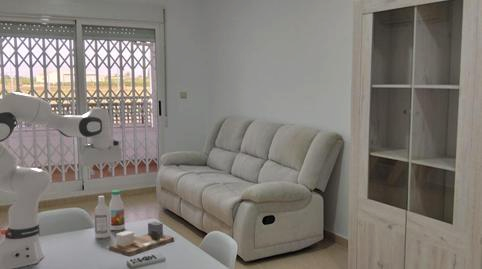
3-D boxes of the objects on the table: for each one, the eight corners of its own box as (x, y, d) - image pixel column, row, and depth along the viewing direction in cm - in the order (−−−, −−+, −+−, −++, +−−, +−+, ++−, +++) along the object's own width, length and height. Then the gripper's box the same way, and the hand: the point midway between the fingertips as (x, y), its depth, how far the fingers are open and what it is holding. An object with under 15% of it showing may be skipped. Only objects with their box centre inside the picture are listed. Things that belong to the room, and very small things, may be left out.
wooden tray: (128, 255, 198) (128, 251, 197) (109, 249, 206) (109, 245, 206) (173, 240, 218) (173, 236, 218) (154, 234, 226) (154, 231, 226)
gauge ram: (126, 247, 203) (126, 236, 202) (116, 244, 207) (116, 233, 207) (141, 243, 209) (140, 232, 208) (130, 240, 214) (130, 229, 213)
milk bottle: (106, 230, 234) (104, 192, 233) (114, 226, 242) (113, 188, 240) (119, 231, 232) (118, 192, 230) (127, 227, 240) (126, 189, 238)
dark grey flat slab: (158, 240, 212) (158, 232, 212) (151, 238, 215) (151, 230, 215) (160, 240, 213) (160, 231, 213) (153, 238, 216) (153, 229, 216)
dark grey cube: (156, 236, 218) (156, 225, 218) (148, 234, 222) (147, 223, 222) (162, 234, 222) (162, 223, 221) (154, 232, 225) (154, 221, 225)
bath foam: (101, 234, 229) (99, 194, 227) (113, 235, 227) (111, 195, 225) (92, 238, 222) (90, 197, 221) (104, 239, 220) (102, 198, 218)
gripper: (84, 145, 200) (85, 177, 201) (123, 141, 215) (124, 170, 217) (76, 144, 203) (77, 175, 205) (114, 140, 219) (116, 169, 221)
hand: (101, 173), depth 211 cm, fingers open, 8 cm apart
